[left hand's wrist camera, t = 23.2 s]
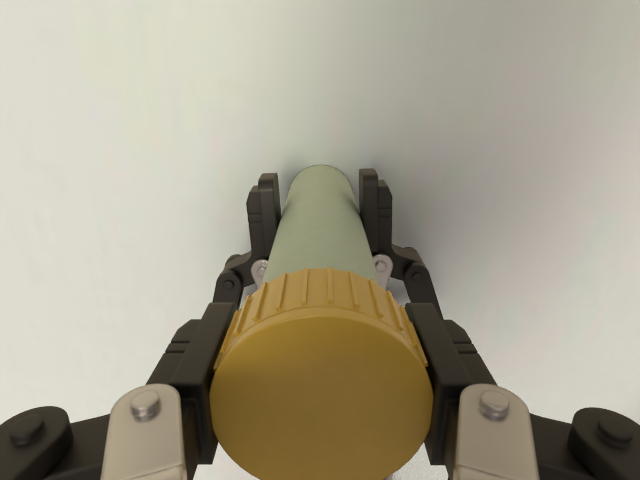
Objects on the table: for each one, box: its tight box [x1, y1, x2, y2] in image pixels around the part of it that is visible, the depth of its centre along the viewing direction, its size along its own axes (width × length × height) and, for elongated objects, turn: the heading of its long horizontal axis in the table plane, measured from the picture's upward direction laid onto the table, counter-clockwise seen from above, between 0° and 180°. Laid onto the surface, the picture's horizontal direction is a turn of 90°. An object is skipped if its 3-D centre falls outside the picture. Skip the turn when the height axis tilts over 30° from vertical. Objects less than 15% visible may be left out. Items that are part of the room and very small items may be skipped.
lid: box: [209, 267, 433, 480], centre depth 10 cm, size 5×5×2 cm
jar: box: [260, 165, 382, 288], centre depth 18 cm, size 4×4×18 cm
